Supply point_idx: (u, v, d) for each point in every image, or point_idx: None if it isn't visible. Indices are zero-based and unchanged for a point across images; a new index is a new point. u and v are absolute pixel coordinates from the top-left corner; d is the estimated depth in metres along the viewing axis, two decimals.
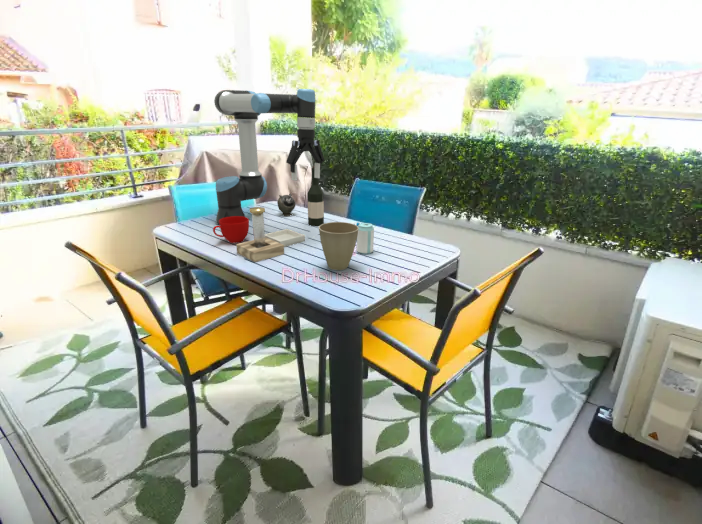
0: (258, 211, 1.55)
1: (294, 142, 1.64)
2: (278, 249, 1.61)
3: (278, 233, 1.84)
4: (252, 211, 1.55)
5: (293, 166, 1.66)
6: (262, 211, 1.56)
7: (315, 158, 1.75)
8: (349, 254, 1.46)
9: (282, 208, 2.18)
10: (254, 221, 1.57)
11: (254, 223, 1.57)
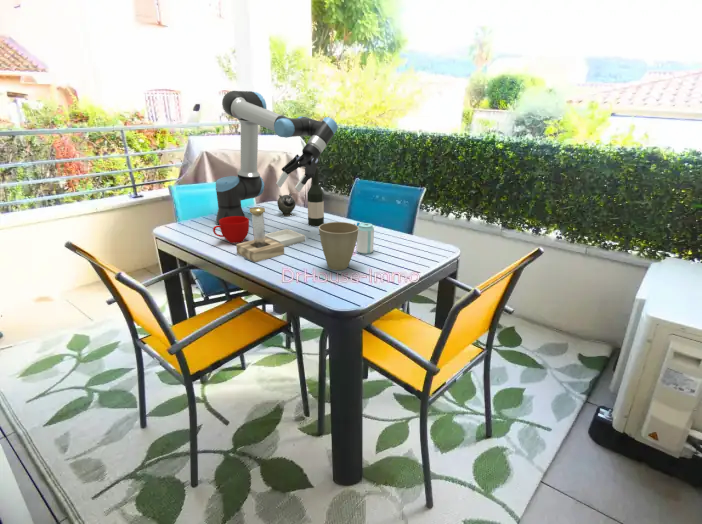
0: (258, 211, 1.55)
1: (317, 160, 1.66)
2: (278, 249, 1.61)
3: (278, 233, 1.84)
4: (252, 211, 1.55)
5: None
6: (262, 211, 1.56)
7: (290, 170, 1.72)
8: (349, 254, 1.46)
9: (282, 208, 2.18)
10: (254, 221, 1.57)
11: (254, 224, 1.57)
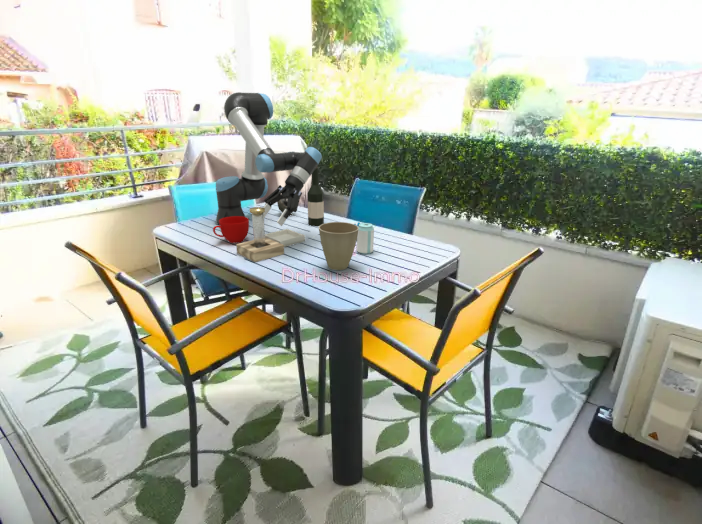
0: (258, 211, 1.55)
1: (300, 193, 1.61)
2: (278, 249, 1.61)
3: (278, 233, 1.84)
4: (252, 211, 1.55)
5: None
6: (262, 211, 1.56)
7: (272, 201, 1.67)
8: (349, 254, 1.46)
9: (282, 208, 2.18)
10: (254, 221, 1.57)
11: (254, 223, 1.57)
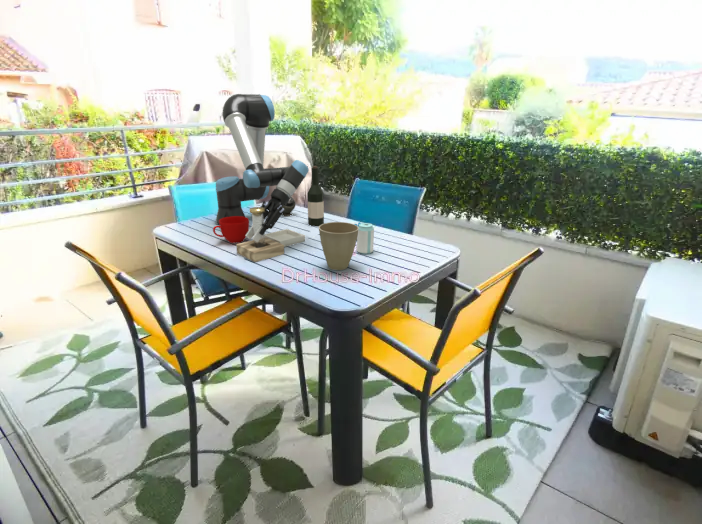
0: (258, 211, 1.55)
1: (282, 210, 1.58)
2: (278, 249, 1.61)
3: (278, 233, 1.84)
4: (252, 211, 1.55)
5: None
6: (262, 211, 1.56)
7: None
8: (349, 254, 1.46)
9: None
10: (254, 221, 1.57)
11: (254, 223, 1.57)
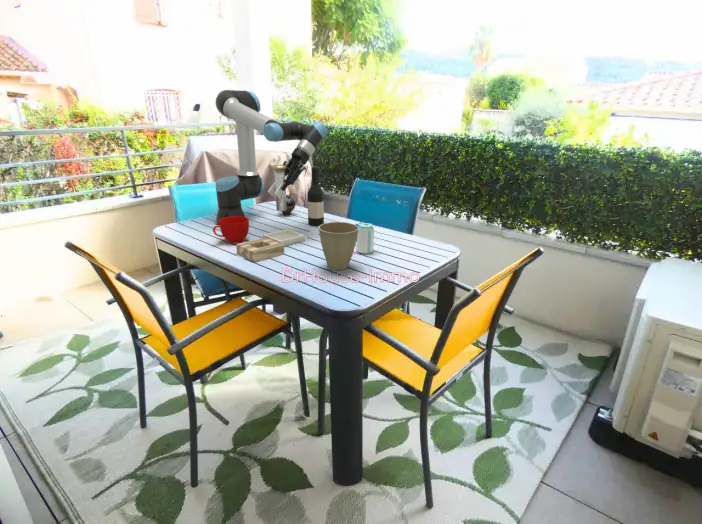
0: (280, 167, 1.65)
1: (303, 167, 1.68)
2: (278, 249, 1.61)
3: (278, 233, 1.84)
4: (275, 167, 1.65)
5: None
6: (284, 167, 1.66)
7: None
8: (349, 254, 1.46)
9: None
10: (276, 177, 1.67)
11: (277, 180, 1.67)
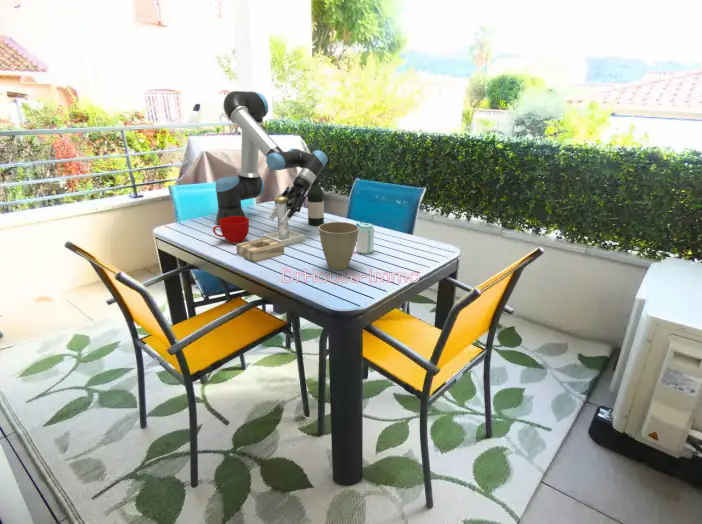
0: (282, 199, 1.70)
1: (306, 194, 1.73)
2: (278, 249, 1.61)
3: (278, 233, 1.84)
4: (277, 199, 1.70)
5: None
6: (286, 199, 1.71)
7: None
8: (349, 254, 1.46)
9: None
10: (278, 209, 1.73)
11: (279, 211, 1.73)
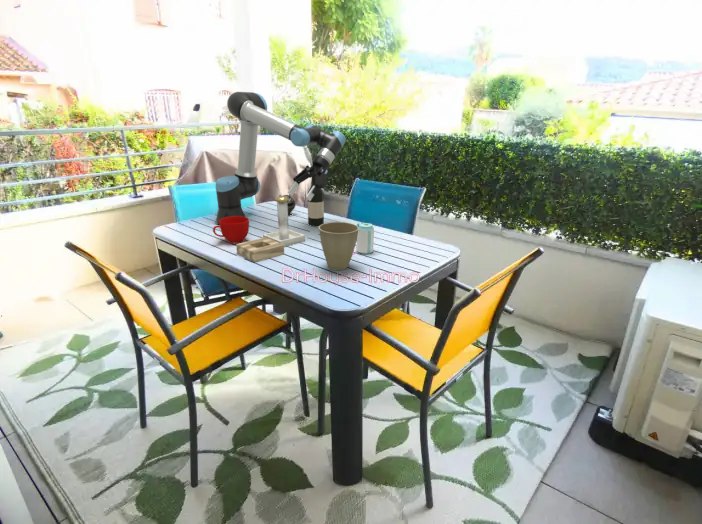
0: (283, 199, 1.70)
1: (326, 171, 1.78)
2: (278, 249, 1.61)
3: (278, 233, 1.84)
4: (277, 199, 1.70)
5: None
6: (286, 199, 1.71)
7: (301, 180, 1.84)
8: (349, 254, 1.46)
9: None
10: (279, 209, 1.73)
11: (279, 211, 1.73)
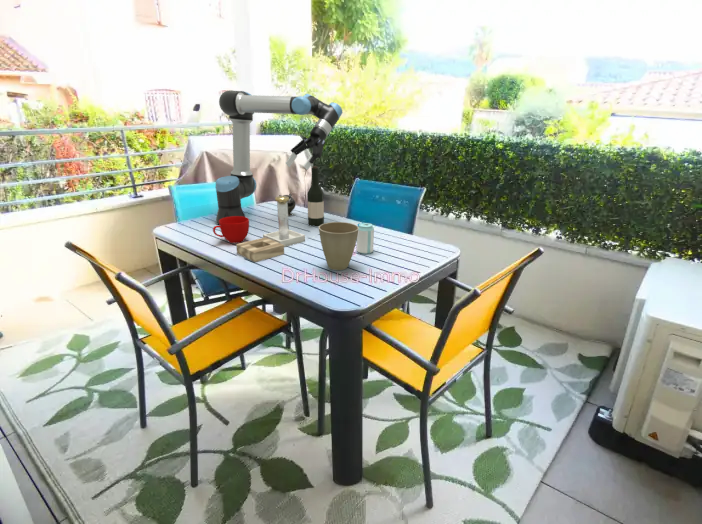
0: (283, 199, 1.70)
1: (324, 142, 1.81)
2: (278, 249, 1.61)
3: (278, 233, 1.84)
4: (278, 199, 1.70)
5: None
6: (287, 199, 1.71)
7: (298, 151, 1.88)
8: (349, 254, 1.46)
9: None
10: (279, 209, 1.73)
11: (279, 211, 1.73)
